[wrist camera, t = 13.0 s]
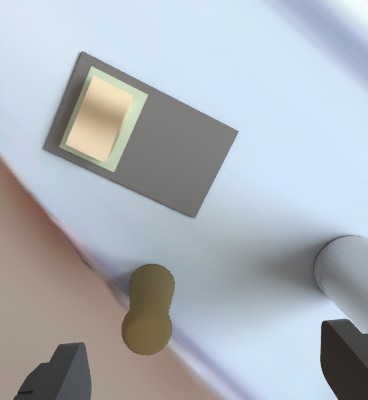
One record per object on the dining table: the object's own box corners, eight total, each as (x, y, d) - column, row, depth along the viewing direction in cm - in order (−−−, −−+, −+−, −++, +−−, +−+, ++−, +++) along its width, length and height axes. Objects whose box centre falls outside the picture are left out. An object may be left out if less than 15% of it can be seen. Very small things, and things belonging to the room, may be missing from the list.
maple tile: (108, 160, 36) (103, 162, 33) (72, 143, 35) (65, 144, 33) (135, 98, 34) (132, 95, 32) (99, 79, 34) (93, 75, 31)
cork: (169, 308, 41) (169, 370, 30) (126, 300, 40) (109, 360, 29) (179, 268, 40) (182, 317, 29) (134, 260, 39) (120, 307, 28)
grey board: (238, 131, 36) (238, 131, 36) (194, 217, 38) (194, 218, 38) (83, 52, 33) (82, 50, 33) (45, 148, 35) (43, 149, 35)
